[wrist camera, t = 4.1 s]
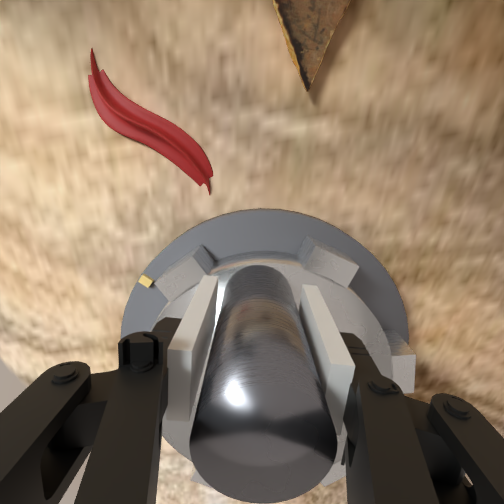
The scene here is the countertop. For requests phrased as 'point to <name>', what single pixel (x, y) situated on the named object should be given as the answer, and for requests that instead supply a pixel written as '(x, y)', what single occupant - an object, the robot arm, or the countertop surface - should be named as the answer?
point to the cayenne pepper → (147, 127)
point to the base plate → (266, 239)
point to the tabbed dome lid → (270, 370)
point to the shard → (309, 31)
